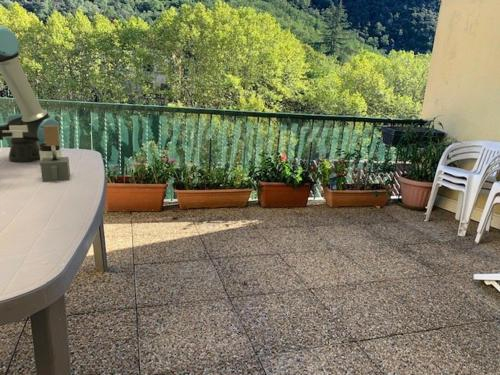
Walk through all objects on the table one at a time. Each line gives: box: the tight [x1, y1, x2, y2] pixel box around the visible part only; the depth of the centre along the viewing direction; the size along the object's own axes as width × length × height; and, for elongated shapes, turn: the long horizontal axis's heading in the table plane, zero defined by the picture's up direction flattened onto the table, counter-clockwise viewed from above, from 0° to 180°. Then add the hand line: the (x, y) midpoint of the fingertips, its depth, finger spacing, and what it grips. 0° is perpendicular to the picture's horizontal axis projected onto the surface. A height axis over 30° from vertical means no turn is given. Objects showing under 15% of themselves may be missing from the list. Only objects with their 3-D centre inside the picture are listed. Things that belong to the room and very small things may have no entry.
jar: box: [39, 142, 63, 162], centre depth 178 cm, size 9×8×12 cm
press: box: [39, 156, 71, 183], centre depth 164 cm, size 13×10×8 cm
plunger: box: [44, 125, 61, 160], centre depth 162 cm, size 4×5×14 cm
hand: (25, 131), depth 157 cm, fingers open, 13 cm apart
